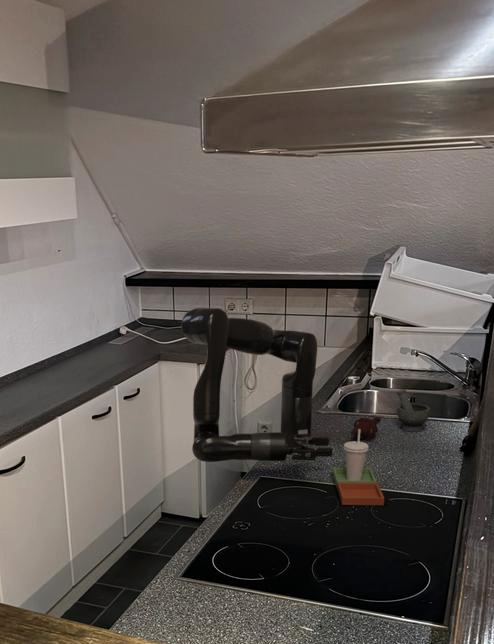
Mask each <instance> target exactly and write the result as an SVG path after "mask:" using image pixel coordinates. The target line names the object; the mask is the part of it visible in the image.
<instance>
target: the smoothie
mask: <svg viewBox="0 0 494 644" xmlns="http://www.w3.org/2000/svg"><path fill="white" fill-rule="evenodd" d="M360 430H361V429H358V436H357V441H354V440H353V441H347V442H345V443H344V444H343V450H344V459H345V468H346V475H347V480H348V481H361V478H362V473H363V468H365V462H366V457H367V453H368V451H369V444H367V443H366V442H362V441H361V439H360Z"/></svg>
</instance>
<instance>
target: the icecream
mask: <svg viewBox="0 0 494 644" xmlns="http://www.w3.org/2000/svg"><path fill="white" fill-rule="evenodd" d="M381 420H382V418H381V417H379V416H376V417H374V418H372V419H371V418H369V417H360V418H358V419H356V420H354V423H353V428H352V429H351V430H350V434H351V435H354V436H356V437H358V429H361V430H360V440H364V441H369V440H370V439H371V438H373V437H374V436H375V435H376V433H377V432H378V426H377V425H378V424H380V423H381Z"/></svg>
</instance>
